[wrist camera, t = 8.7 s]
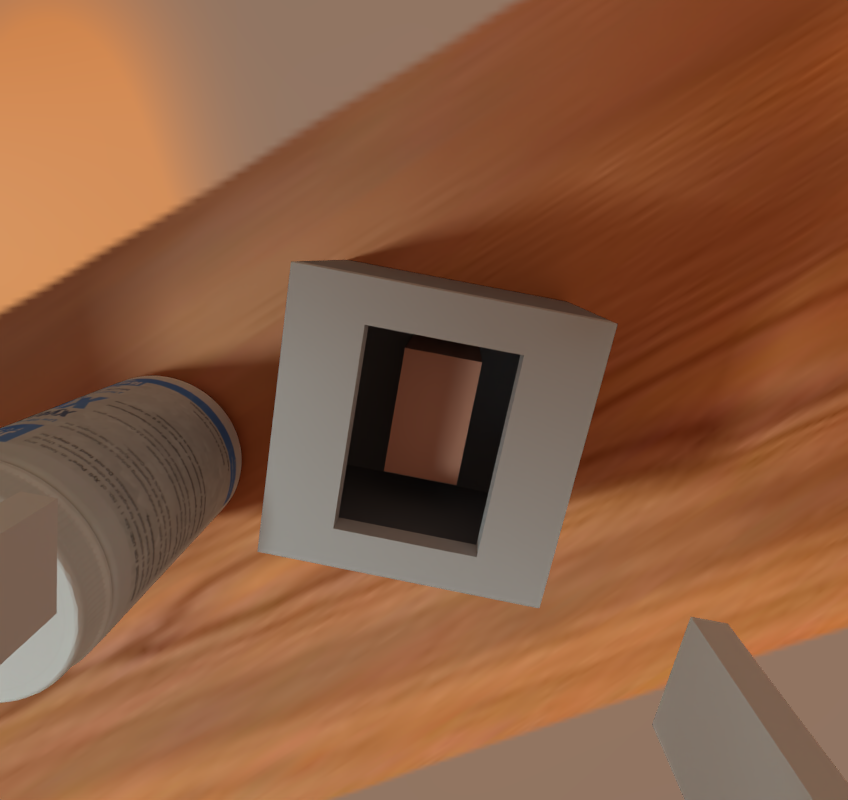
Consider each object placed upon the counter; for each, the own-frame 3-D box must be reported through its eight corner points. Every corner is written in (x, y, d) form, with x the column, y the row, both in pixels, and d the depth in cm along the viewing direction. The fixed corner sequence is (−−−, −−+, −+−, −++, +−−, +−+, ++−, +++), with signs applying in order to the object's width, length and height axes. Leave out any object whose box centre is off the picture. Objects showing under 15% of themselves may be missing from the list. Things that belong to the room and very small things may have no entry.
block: (457, 449, 31) (456, 485, 26) (396, 437, 31) (383, 471, 26) (479, 344, 29) (482, 362, 25) (414, 332, 29) (404, 347, 25)
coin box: (318, 464, 33) (257, 551, 23) (347, 259, 30) (291, 261, 20) (516, 503, 33) (539, 608, 23) (566, 301, 29) (617, 323, 20)
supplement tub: (142, 339, 32) (-119, 407, 17) (278, 437, 33) (135, 577, 18) (66, 463, 34) (-218, 612, 20) (195, 551, 35) (12, 754, 21)
